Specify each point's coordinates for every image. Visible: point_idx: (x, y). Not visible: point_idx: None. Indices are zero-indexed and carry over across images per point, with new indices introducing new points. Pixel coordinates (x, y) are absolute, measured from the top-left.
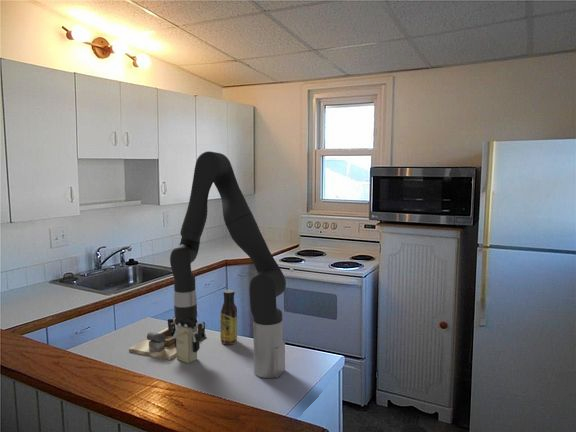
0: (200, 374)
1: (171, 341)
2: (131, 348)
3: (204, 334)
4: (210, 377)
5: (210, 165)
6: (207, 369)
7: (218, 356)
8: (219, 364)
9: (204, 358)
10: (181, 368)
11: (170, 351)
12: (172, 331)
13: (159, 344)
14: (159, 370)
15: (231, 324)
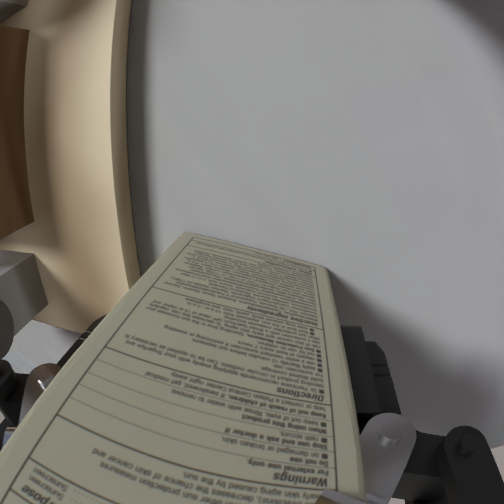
0: (421, 408)
1: (5, 200)
2: None
3: (496, 475)
4: (468, 405)
5: None
6: (446, 363)
7: (469, 173)
8: (499, 290)
9: (381, 241)
10: None
11: (84, 278)
12: (4, 415)
13: (16, 324)
14: None
15: None
